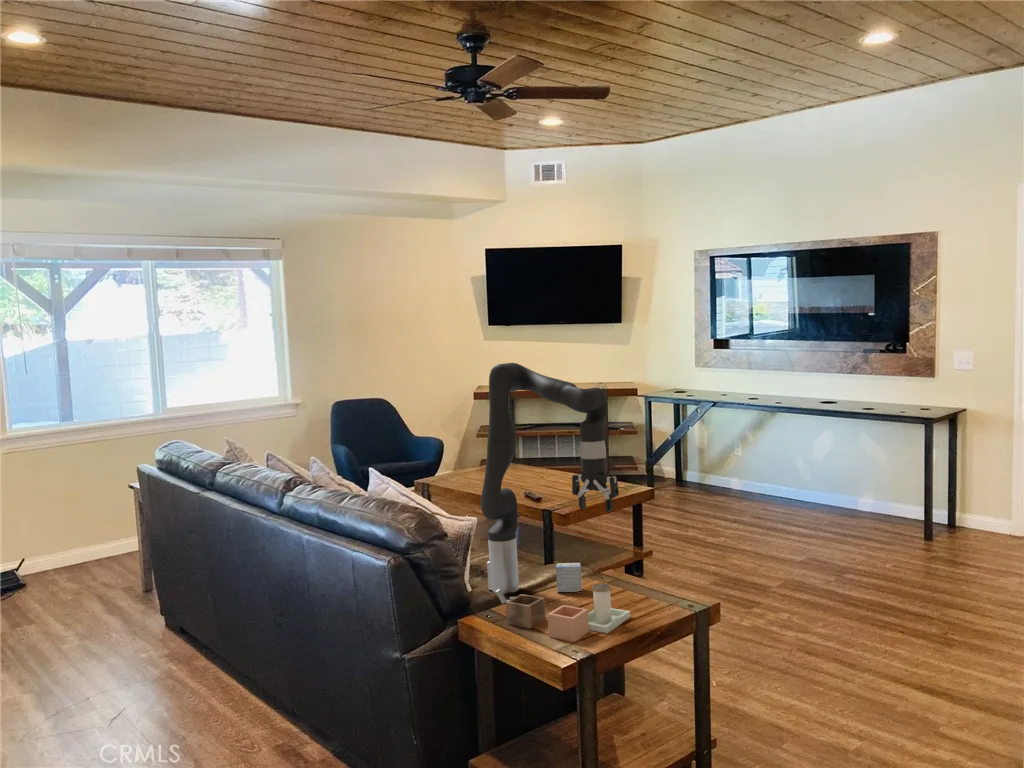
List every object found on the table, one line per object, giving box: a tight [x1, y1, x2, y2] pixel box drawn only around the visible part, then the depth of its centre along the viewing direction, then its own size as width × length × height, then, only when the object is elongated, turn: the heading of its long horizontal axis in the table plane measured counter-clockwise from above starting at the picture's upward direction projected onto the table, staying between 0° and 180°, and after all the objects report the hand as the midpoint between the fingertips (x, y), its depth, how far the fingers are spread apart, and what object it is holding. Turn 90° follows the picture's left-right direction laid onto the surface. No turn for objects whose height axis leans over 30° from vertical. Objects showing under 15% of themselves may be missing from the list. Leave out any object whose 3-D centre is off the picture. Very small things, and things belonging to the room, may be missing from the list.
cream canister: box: [591, 583, 612, 624], centre depth 215 cm, size 5×5×10 cm
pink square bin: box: [547, 604, 590, 643], centre depth 207 cm, size 8×8×7 cm
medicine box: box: [555, 562, 583, 593], centre depth 247 cm, size 8×4×9 cm, turn 84°
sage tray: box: [588, 607, 631, 634], centre depth 215 cm, size 10×14×2 cm
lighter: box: [495, 588, 516, 605], centre depth 227 cm, size 7×2×8 cm, turn 88°
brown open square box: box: [505, 593, 546, 629], centre depth 219 cm, size 8×8×7 cm
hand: (596, 510), depth 225 cm, fingers open, 8 cm apart
